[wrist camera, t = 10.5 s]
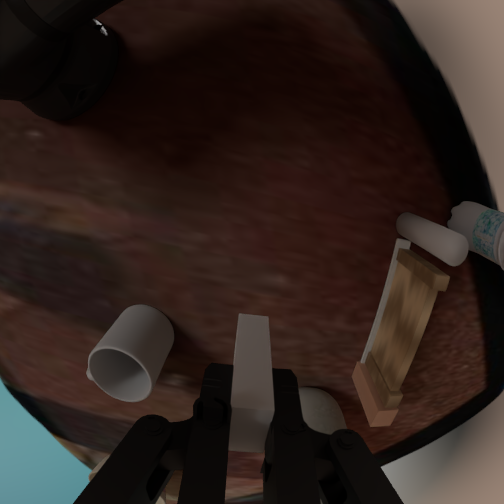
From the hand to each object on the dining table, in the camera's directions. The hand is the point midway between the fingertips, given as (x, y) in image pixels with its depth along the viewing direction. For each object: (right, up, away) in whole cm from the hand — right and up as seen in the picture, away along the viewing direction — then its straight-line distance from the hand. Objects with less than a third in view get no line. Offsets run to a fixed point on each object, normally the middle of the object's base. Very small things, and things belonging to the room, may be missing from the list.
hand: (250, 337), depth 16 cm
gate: (+18, -3, +23) cm, 30 cm away
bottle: (+29, +9, +20) cm, 37 cm away
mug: (-17, -7, +26) cm, 32 cm away
